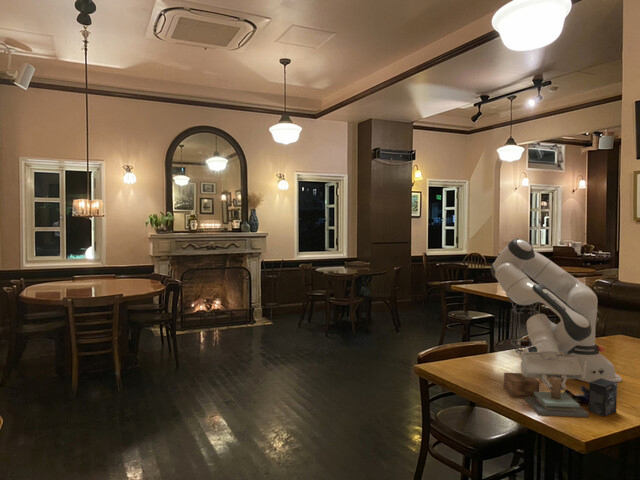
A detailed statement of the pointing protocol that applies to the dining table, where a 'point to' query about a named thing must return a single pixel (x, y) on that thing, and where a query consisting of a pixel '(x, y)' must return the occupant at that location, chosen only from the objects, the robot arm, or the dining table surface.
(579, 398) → the snack package
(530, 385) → the tea box
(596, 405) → the box
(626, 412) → the dining table surface
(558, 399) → the lid
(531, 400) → the gray rectangular tray
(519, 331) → the geometric lantern
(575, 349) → the robot arm
